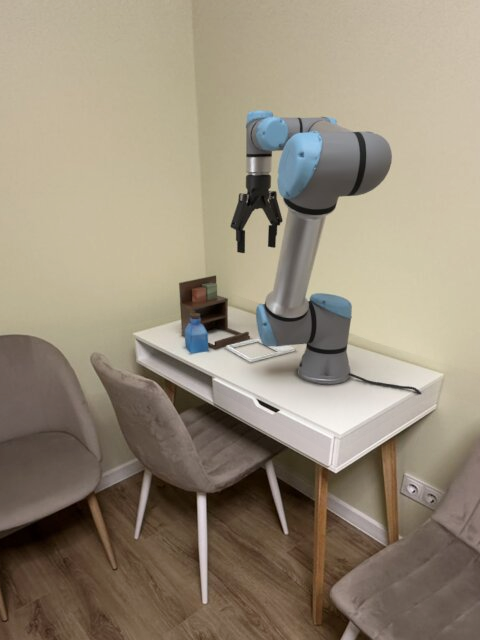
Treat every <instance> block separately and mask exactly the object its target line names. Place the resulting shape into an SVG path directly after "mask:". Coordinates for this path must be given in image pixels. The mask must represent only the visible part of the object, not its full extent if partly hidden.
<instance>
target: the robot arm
mask: <svg viewBox="0 0 480 640" xmlns="http://www.w3.org/2000/svg"><path fill="white" fill-rule="evenodd" d="M245 129H246V132H245V133H246V134H245V135H246V136H245V138H246V139H245V140H246V141H245V142H246V143H245V144H246V145H245V146H246V147H245V149H246V151H245V154H246V155H245V157H246V158H245V172H246V173H247V174H246V176H245V188H246V191H247V192H246V193H239V194H238V199H237V204H236V208H235V210H234V212H233V213H234V214H233V217H232V219H231V223H230V228H231V229H233V230H235V242H236V252H237V253H239V254H246V230H245V229H244V228H245V226H246V224H247V223H248V221H249V220H250V217H251V215H252V214H253V212H254V211H255V210H259V209H262V211H263V213H264V215H265V216H266V218H267V220H268V222H269V223H270V224H268V230H267V231H268V232H267V233H268V235H267V247H268V248H273V249H275V248H276V246H277V245H276V243H277V236H278V227H279V226H281V224H282V223H283V216H282V213H281V209H280V206H279V201H278V193H279V195H280V196H281V197H282V200H283V201H282V202H283V204H284V205H285V207H286V208H287V213H286V218H285V223H284V229H283V235H282V240H281V246H280V251H279V257H278V260H277V261H278V262H277V267H276V273H275V276H274V277H275V279H274V284H273V288H272V290H271V291H270V292H269V293H268V294H267V295H266V297H265V300H264V303H260V304H258V305H257V306H256V308H255V319H256V327H257V333H258V336H259V337H258V338H260V340H261V342H262V343H263V344H262V345H263V346H265V347H267V346H276V347H278V346H286V345H289V346H293V345H294V346H296V345H306V347H305V350H304V353H303V354H302V356H301V359H300V362H299V364H298V367H297V374H298V376H299V377H300V378H301V379H303V381H307V382H308V383H312V384H317V385H338V384H341V383H344V382H346V381H348V380H349V378H350V377H352V378H355V379H357V380H360V381H362V382H365V383H368V384H370V385H376V386H377V385H378V386H383V387H391V388H397V389H403V390H404V389H405V390H412V391H414V392H416V393H417V394H418V395H422V392H421V391H420V390H419V389H418V388H416V387H414V386H409V385H398V384H393V383H385V382H378V381H374V380H369V379H367V378H364V377H362V376H358V375H356V374H353V373H351V367H350V362H349V357H348V352H347V350H348V345H349V344H348V343H349V336H350V329H351V321H352V318H353V317H352V313H353V311H352V310H353V309H352V308H353V305H352V302H351V301H350V300H349V299H347V298H345V297H343V296H339V295H336V294H331V293H323V292H322V293H321V292H318V293H317V292H315V293H313V294H311V295H310V297H309V300H308V298H307V297H306V296H307V292H308V289H309V285H310V280H311V277H312V273H313V269H314V265H315V261H316V257H317V253H318V250H319V246H320V242H321V238H322V233H323V230H324V226H325V222H326V219H327V216H329V215H331V214H332V213H333V212H334V211H335V210H336V207H337V204H338V201H339V198H340V197H356V196H361V195H366V194H367V193H370V192H371V191H373V190H374V189H376V188H378V186H380V185H381V183H382V182H384V180H385V179H386V177H387V176H388V174H389V171H390V169H391V165H392V160H393V155H392V154H393V153H392V149H391V146H390V143H389V142H388V141H387V139H386V138H385V137H383V136H382V135H381V134H378V133H375V132H373V131H353V130H350V129H348V128H346V127H343V126H340V125H339V124H338V121H337V119H336V118H334V117H328V116H320V117H283V116H282V117H279V116H274V113H273V112H272V111H271V110H251V111H249V112H248V113H247V114H246V124H245ZM276 151H277V152H279V151H281V154H280V159H279V162H278V167H277V174H278V175H277V181H276V182H277V189H278V192H277V191H276V190H270V189H271V187H272V175H271V173H272V172H273V171H272V169H273V152H276Z"/></svg>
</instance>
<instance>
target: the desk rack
mask: <svg viewBox="0 0 480 640" xmlns="http://www.w3.org/2000/svg"><path fill="white" fill-rule="evenodd" d="M178 289H179V306H180V307H179V308H180V309H179V310H180V325H181V336H182V337H184V338H185V328H186V327H187V325H188V323H191V321H190V318H191V314H192V313H199V314H200V318H201V321H200V323H201V324H202V325H203V326H204V327H205V329H206V331H207V330H210V329H213V328H217V329H220V330H222V331H225V332H228V333H230V334H233V335H231V336H228V337H225V338H222V339H219V340H216V341H214V344H213V343H211V342H208V348H210V349H213V350H218V349H219V350H220V349H222V348H226V346H227V345H232V344H236V343H240V342H244V341H248V340H251V336H250V332H249V331H244V332H240V331H237V330H236V329H232V328H229V320H228V318H229V315H228V314H229V311H228V309H229V307H228V303H229V302H228V301H229V298H228V297H224V296H222V295H218V283H217V275H210V276H206V277H201V278H195V279H190V280H186V281H181V282H178Z"/></svg>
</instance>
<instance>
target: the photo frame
mask: <svg viewBox="0 0 480 640" xmlns="http://www.w3.org/2000/svg"><path fill="white" fill-rule="evenodd" d="M253 343H260V344H261V345H263V343H262V342H261V340H260V337H257V338H253V339H248V340H244V341H241V342H237V343H234V344H231V345H227V346H225V349H227V350H229V351H230V352H232V353H233V354H236V355H237V356H239V357H241V358H243V359H244V360H245V361H248V362H249V363H253V362H257V361H261V360H265V359H269V358H273V357H276V356H277V357H278V356H281V355H284V354H288V353H292V352H295V351H296V348H295V347H293V345H286V346H278V347H276V346H266V347H267V348H270V349H271V350H274V351H275V352H271V353H268V354H264V355H259V356H255V357H250V356H248V355H246V354H244V353H242V352H241V351H239V350H237V349H235V348H238V347H241V346H247V345H251V344H253Z"/></svg>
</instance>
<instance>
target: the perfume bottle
mask: <svg viewBox="0 0 480 640" xmlns="http://www.w3.org/2000/svg"><path fill="white" fill-rule="evenodd" d="M190 321H191V323H188V325H187V327H186V328H185V337H184V343H185V344H184V347H185V349H186V350H187V351H188V352H189V353H190V354H191V355H192V354H198V353H205V352H209V347H208V343H209V333H208V331H207V330H206V329H205V327H204V326H203V325H202V324H201V323H200V321H201V318H200V314H199V313H192V314H191V318H190Z"/></svg>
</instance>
